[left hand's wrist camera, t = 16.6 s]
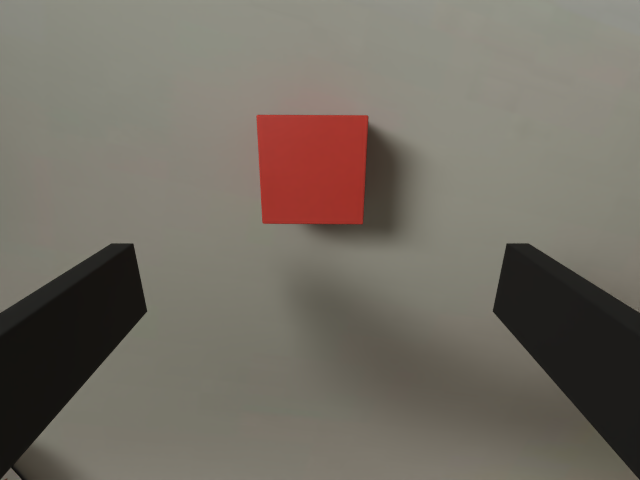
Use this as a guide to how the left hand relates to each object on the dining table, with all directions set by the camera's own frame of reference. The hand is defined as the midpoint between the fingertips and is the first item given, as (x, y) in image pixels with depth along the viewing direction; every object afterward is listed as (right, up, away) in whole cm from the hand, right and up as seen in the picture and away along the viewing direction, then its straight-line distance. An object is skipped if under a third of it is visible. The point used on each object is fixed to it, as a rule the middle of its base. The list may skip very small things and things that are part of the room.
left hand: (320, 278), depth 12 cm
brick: (0, +6, +7) cm, 9 cm away
